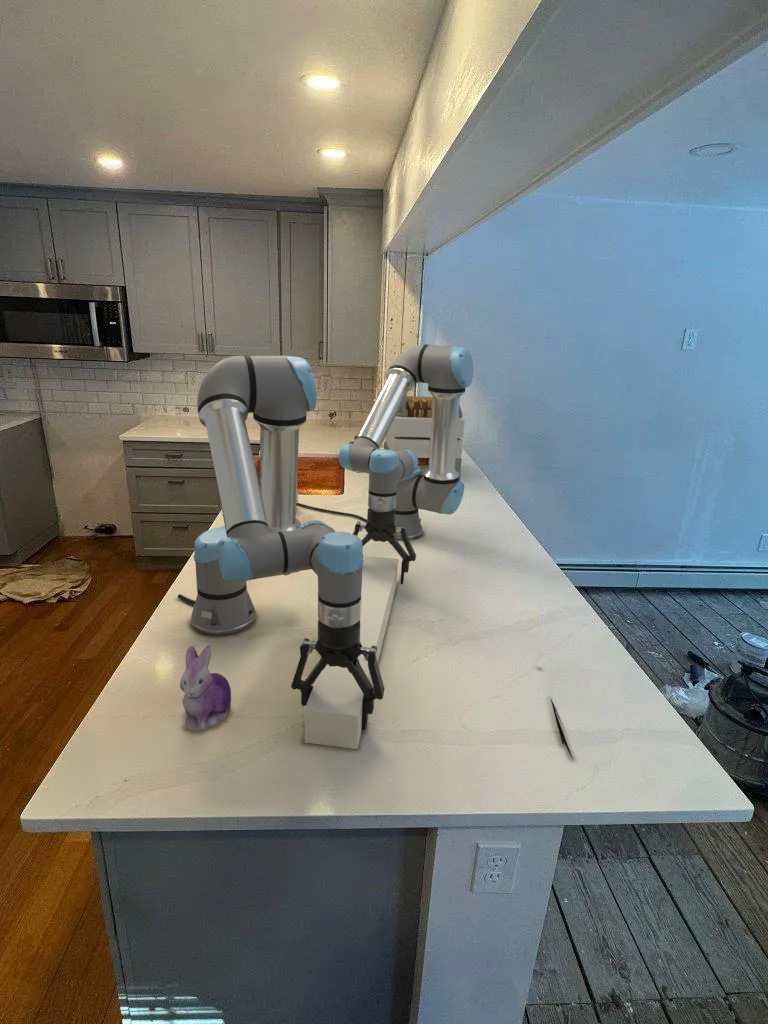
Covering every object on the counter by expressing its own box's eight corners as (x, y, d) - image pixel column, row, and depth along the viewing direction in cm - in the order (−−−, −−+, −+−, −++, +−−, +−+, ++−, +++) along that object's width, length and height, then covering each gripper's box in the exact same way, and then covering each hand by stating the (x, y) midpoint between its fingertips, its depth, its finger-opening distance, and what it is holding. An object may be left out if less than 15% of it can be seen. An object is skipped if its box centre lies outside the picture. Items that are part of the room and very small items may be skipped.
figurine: (187, 740, 102) (180, 669, 97) (178, 706, 110) (171, 639, 105) (239, 725, 106) (236, 656, 101) (227, 693, 115) (223, 628, 109)
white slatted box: (382, 463, 289) (386, 382, 275) (445, 464, 293) (451, 384, 279) (390, 482, 257) (394, 392, 243) (460, 483, 261) (468, 394, 247)
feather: (540, 672, 128) (545, 666, 127) (572, 762, 101) (579, 755, 101) (533, 668, 128) (539, 662, 127) (564, 758, 101) (571, 750, 100)
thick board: (364, 578, 166) (365, 555, 163) (397, 581, 165) (398, 558, 162) (304, 742, 103) (304, 709, 100) (357, 749, 102) (358, 715, 99)
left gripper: (271, 623, 98) (273, 728, 105) (400, 637, 95) (393, 743, 103) (283, 602, 105) (285, 702, 112) (404, 615, 102) (397, 716, 110)
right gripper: (333, 508, 150) (331, 581, 157) (427, 516, 147) (421, 590, 154) (338, 500, 157) (337, 569, 164) (428, 507, 154) (423, 578, 161)
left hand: (337, 722), depth 107 cm, fingers closed on thick board, 10 cm apart
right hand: (378, 579), depth 159 cm, fingers open, 13 cm apart
